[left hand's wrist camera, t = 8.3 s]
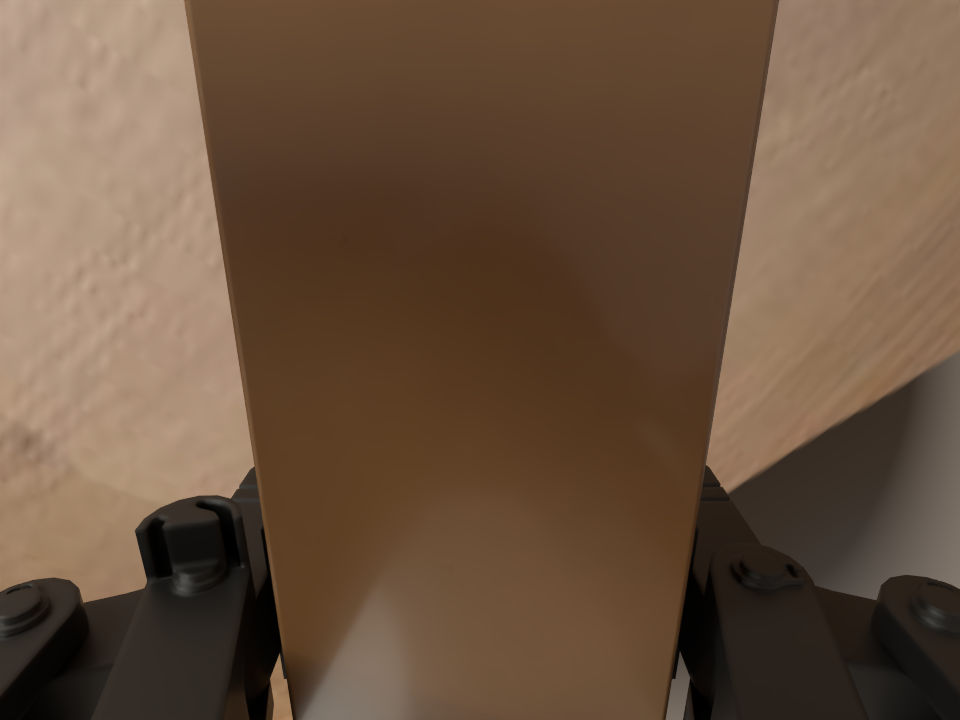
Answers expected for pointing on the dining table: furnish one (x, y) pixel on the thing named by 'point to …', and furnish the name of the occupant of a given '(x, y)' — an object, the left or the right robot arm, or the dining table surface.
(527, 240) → the bar
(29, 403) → the dining table surface
